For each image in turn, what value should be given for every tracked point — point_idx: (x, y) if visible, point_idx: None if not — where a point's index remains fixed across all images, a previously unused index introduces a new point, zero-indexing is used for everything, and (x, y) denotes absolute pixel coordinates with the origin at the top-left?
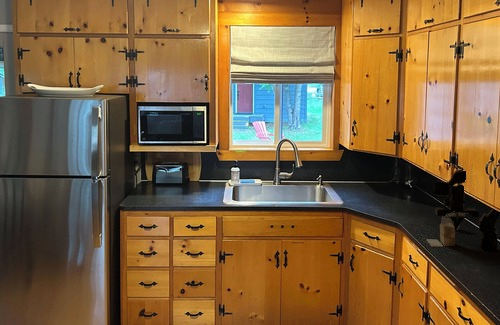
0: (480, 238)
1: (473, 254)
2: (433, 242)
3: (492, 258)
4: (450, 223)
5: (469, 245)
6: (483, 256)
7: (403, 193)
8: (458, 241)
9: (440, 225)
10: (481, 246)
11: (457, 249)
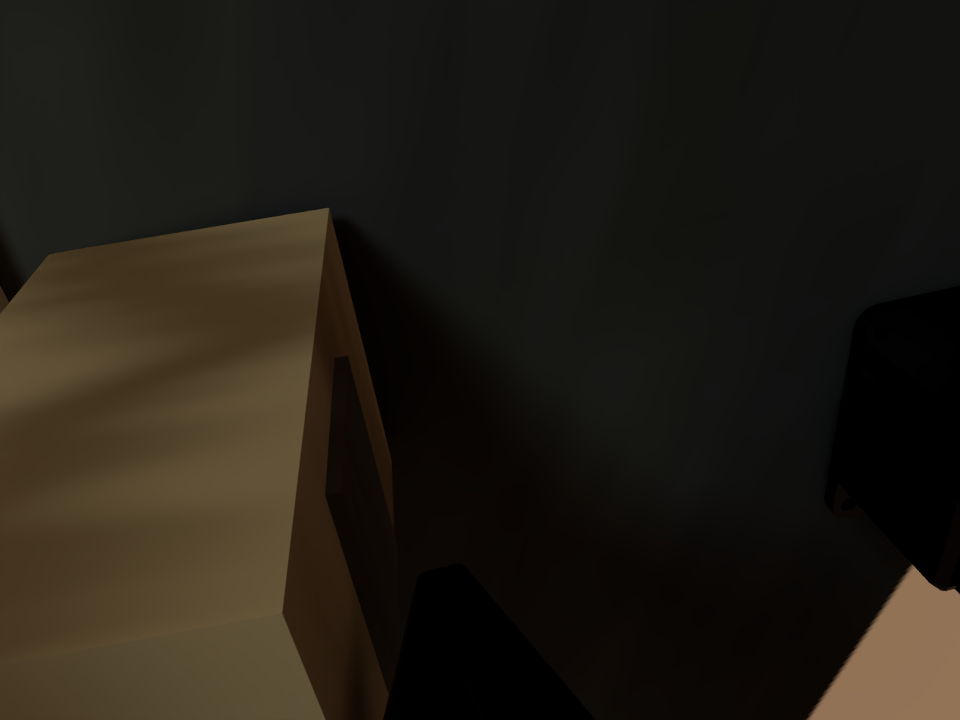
0: (949, 516)
1: (604, 684)
2: None
3: (784, 715)
4: (273, 651)
5: (695, 303)
6: (707, 698)
7: None
8: (534, 56)
9: None
10: (843, 485)
11: (412, 583)
